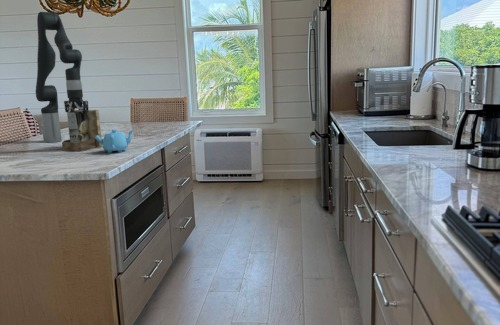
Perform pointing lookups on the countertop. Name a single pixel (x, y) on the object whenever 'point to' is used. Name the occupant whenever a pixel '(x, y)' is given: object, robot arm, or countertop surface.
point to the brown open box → (79, 145)
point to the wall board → (94, 125)
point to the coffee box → (77, 127)
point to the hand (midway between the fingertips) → (77, 120)
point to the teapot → (115, 141)
